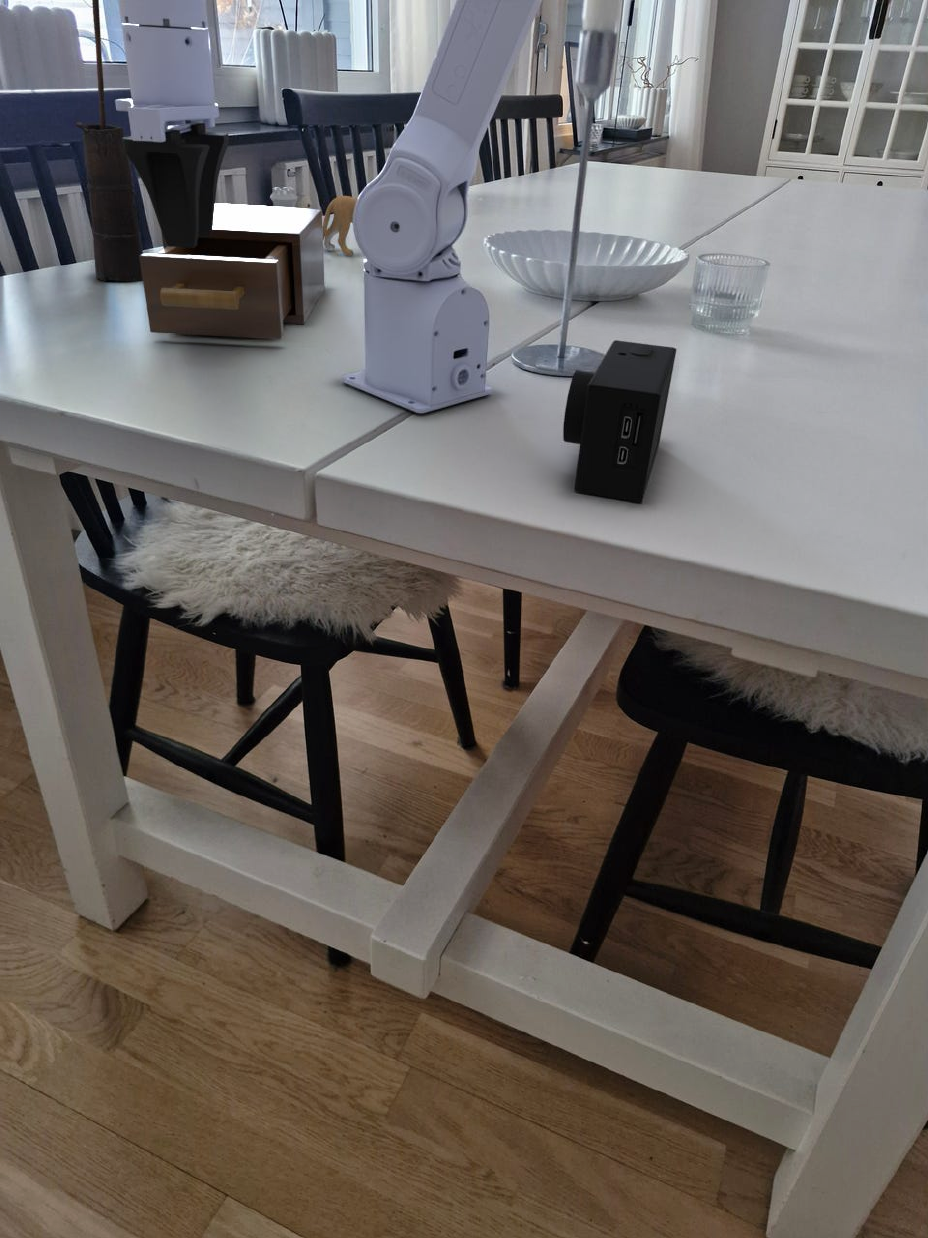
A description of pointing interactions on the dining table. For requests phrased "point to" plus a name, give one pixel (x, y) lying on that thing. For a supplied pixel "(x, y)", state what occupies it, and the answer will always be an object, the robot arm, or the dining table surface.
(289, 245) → the drawer
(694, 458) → the dining table surface
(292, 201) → the rook chess piece
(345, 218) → the lion figurine
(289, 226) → the cabinet
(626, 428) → the digital camera
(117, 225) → the butter churn
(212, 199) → the robot arm
